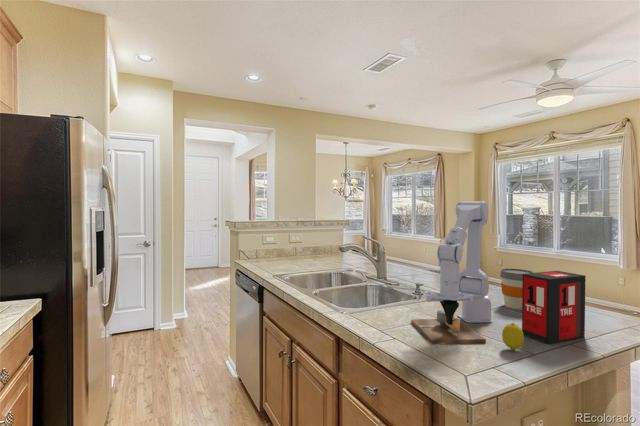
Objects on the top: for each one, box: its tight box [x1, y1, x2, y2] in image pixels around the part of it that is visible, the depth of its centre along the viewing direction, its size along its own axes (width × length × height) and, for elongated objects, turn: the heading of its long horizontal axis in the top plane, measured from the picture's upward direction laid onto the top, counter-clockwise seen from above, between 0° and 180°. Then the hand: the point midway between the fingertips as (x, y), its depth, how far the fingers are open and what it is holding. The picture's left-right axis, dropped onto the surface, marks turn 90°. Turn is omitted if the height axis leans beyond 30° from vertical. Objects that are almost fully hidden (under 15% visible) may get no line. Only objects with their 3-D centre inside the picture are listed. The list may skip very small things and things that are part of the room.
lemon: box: [501, 322, 525, 351], centre depth 98 cm, size 6×6×8 cm
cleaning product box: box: [521, 270, 586, 346], centre depth 109 cm, size 16×9×20 cm, turn 110°
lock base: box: [410, 318, 487, 345], centre depth 112 cm, size 17×19×3 cm
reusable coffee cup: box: [499, 268, 535, 311], centre depth 142 cm, size 13×13×15 cm
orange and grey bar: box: [436, 309, 461, 331], centre depth 111 cm, size 12×5×3 cm, turn 4°
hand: (449, 323), depth 108 cm, fingers closed
